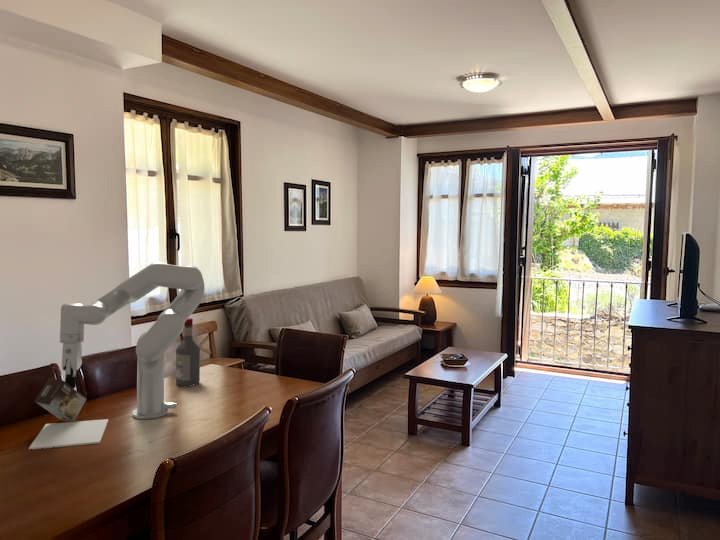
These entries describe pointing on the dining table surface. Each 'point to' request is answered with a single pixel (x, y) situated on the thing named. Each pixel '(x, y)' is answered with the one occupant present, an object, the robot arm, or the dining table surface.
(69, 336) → the robot arm
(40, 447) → the mat
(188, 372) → the liquor
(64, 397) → the coffee box
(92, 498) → the dining table surface
